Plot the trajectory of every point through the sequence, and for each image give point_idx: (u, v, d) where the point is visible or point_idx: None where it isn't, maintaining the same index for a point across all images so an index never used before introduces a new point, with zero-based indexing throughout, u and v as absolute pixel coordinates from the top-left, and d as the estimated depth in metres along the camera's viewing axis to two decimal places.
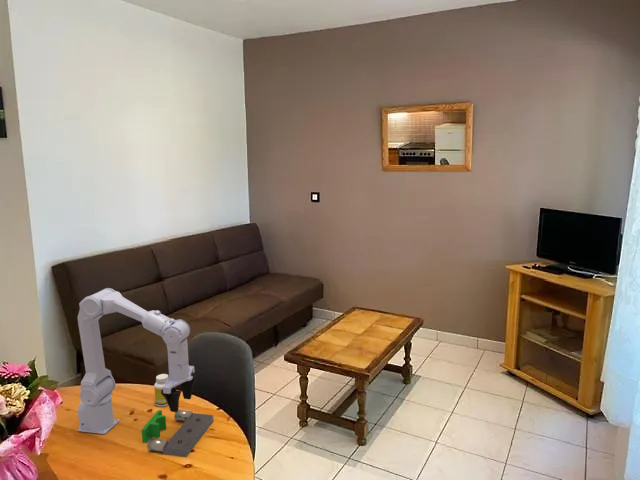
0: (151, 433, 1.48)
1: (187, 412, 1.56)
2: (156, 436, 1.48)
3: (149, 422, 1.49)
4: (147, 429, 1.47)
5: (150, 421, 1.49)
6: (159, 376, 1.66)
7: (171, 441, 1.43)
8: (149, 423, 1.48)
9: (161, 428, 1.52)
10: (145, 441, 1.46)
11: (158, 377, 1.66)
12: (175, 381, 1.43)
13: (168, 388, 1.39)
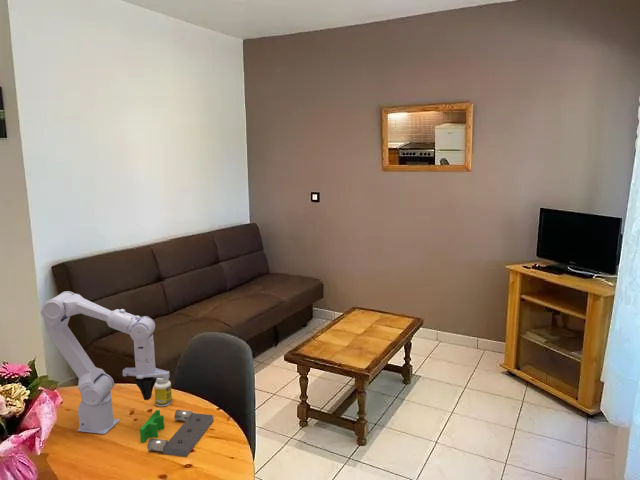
0: (149, 433, 1.48)
1: (187, 412, 1.56)
2: (154, 436, 1.48)
3: (147, 422, 1.49)
4: (146, 429, 1.47)
5: (149, 421, 1.49)
6: None
7: (171, 441, 1.43)
8: (147, 423, 1.48)
9: (159, 428, 1.52)
10: (143, 441, 1.46)
11: None
12: (136, 371, 1.51)
13: (123, 370, 1.52)
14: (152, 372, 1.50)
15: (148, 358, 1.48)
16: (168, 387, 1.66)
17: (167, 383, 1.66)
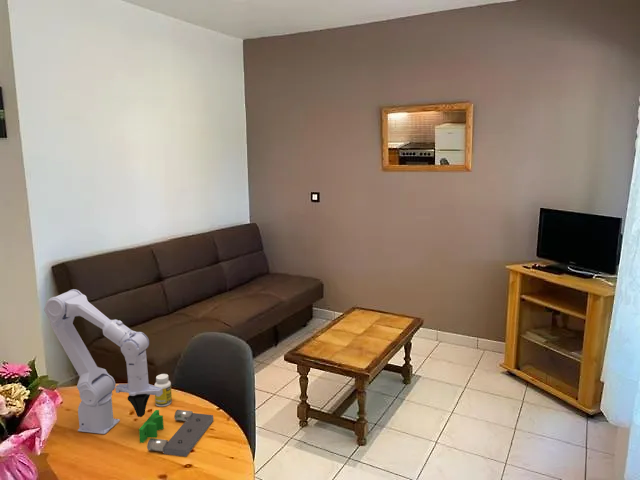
0: (148, 433, 1.48)
1: (187, 412, 1.56)
2: (153, 436, 1.48)
3: (146, 422, 1.49)
4: (145, 429, 1.47)
5: (148, 421, 1.49)
6: (159, 376, 1.66)
7: (171, 441, 1.43)
8: (146, 423, 1.48)
9: (158, 428, 1.52)
10: (142, 441, 1.46)
11: (158, 377, 1.66)
12: (128, 387, 1.49)
13: (116, 387, 1.50)
14: (145, 389, 1.48)
15: (139, 375, 1.46)
16: (168, 387, 1.66)
17: (167, 383, 1.66)
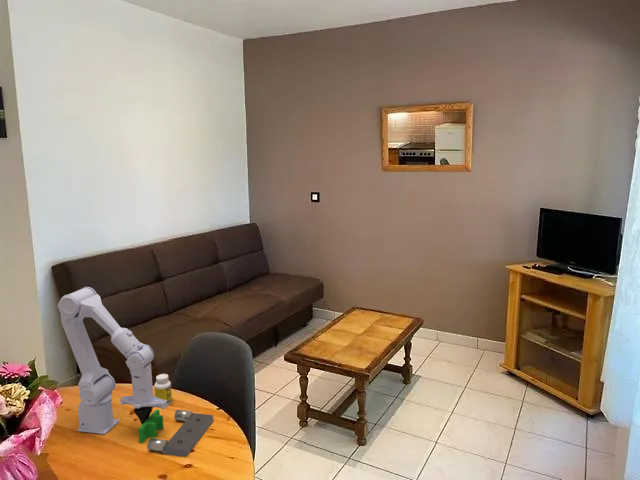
0: (148, 433, 1.48)
1: (187, 412, 1.56)
2: (153, 436, 1.48)
3: (146, 422, 1.49)
4: (144, 428, 1.46)
5: (148, 421, 1.49)
6: (159, 376, 1.66)
7: (171, 441, 1.43)
8: (146, 423, 1.48)
9: (158, 428, 1.52)
10: (142, 440, 1.46)
11: (158, 377, 1.66)
12: None
13: None
14: (150, 401, 1.48)
15: (144, 388, 1.46)
16: (168, 387, 1.66)
17: (167, 383, 1.66)
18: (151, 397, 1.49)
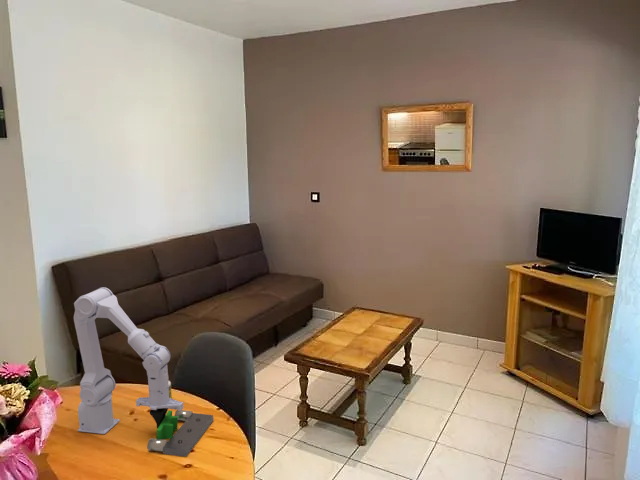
0: (164, 434, 1.47)
1: (187, 412, 1.56)
2: (169, 437, 1.47)
3: (162, 423, 1.48)
4: (162, 429, 1.46)
5: (164, 422, 1.48)
6: None
7: (171, 441, 1.43)
8: (163, 424, 1.47)
9: (172, 429, 1.51)
10: None
11: None
12: None
13: None
14: (166, 403, 1.47)
15: (160, 389, 1.45)
16: None
17: None
18: (167, 399, 1.48)
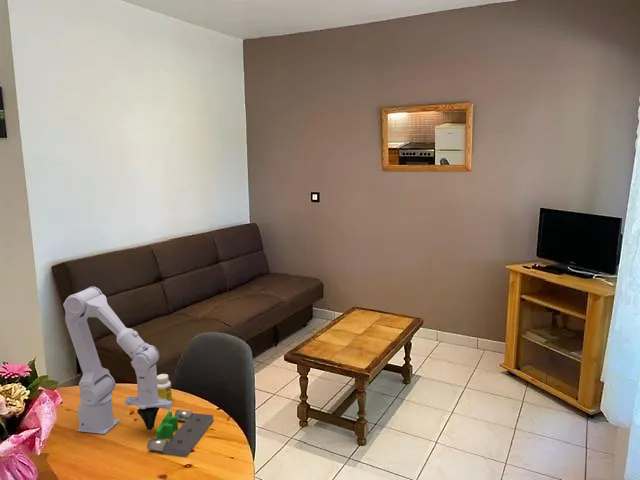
0: (164, 435, 1.47)
1: (187, 412, 1.56)
2: (169, 437, 1.47)
3: (162, 424, 1.48)
4: (161, 430, 1.46)
5: (163, 423, 1.48)
6: (159, 376, 1.66)
7: (171, 441, 1.43)
8: (162, 425, 1.47)
9: (173, 429, 1.51)
10: None
11: (158, 377, 1.66)
12: None
13: None
14: (155, 402, 1.48)
15: (149, 388, 1.46)
16: (168, 387, 1.66)
17: (167, 383, 1.66)
18: (156, 398, 1.48)
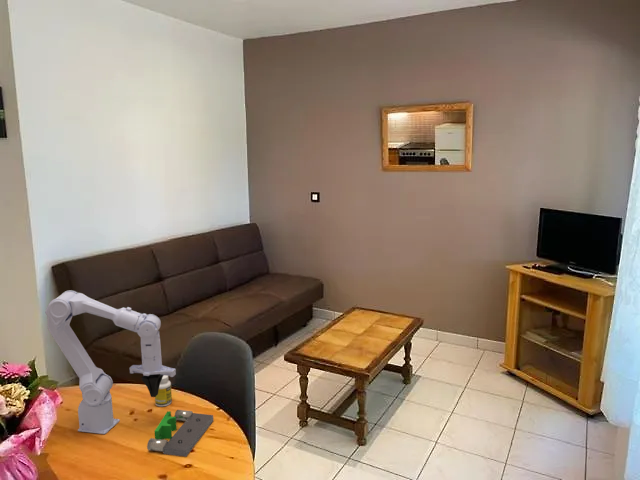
0: (163, 434, 1.47)
1: (187, 412, 1.56)
2: (168, 437, 1.47)
3: (161, 424, 1.48)
4: (160, 430, 1.46)
5: (162, 423, 1.48)
6: None
7: (171, 441, 1.43)
8: (161, 424, 1.47)
9: (172, 429, 1.51)
10: None
11: None
12: (142, 368, 1.53)
13: (130, 368, 1.54)
14: (158, 369, 1.51)
15: (156, 355, 1.50)
16: (168, 387, 1.66)
17: (167, 383, 1.66)
18: (160, 365, 1.52)
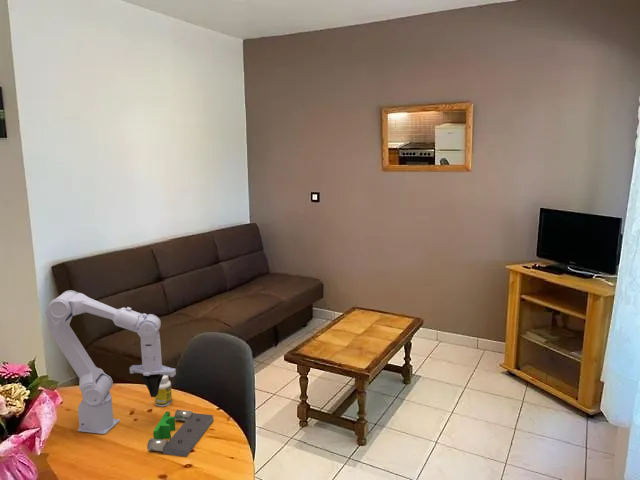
0: (162, 434, 1.47)
1: (187, 412, 1.56)
2: (167, 437, 1.47)
3: (159, 424, 1.48)
4: (159, 430, 1.46)
5: (161, 423, 1.48)
6: None
7: (171, 441, 1.43)
8: (159, 424, 1.47)
9: (170, 429, 1.51)
10: None
11: None
12: (142, 368, 1.53)
13: (130, 368, 1.54)
14: (158, 369, 1.51)
15: (156, 355, 1.50)
16: (168, 387, 1.66)
17: (167, 383, 1.66)
18: (160, 365, 1.52)
